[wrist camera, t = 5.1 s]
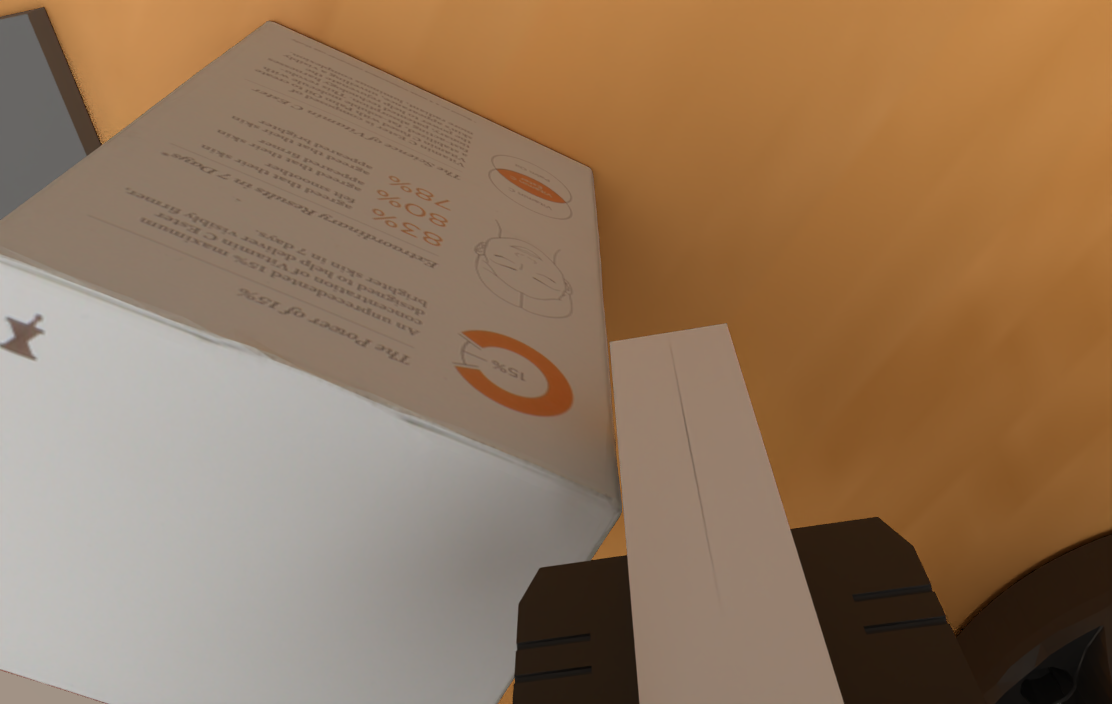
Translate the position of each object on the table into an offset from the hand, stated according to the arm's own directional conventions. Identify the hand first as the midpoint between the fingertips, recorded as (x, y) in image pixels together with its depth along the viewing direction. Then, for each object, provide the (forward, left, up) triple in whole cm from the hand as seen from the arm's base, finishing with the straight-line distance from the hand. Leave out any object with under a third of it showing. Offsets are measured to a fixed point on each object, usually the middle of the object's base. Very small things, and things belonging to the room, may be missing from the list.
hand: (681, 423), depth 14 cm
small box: (0, +6, -12) cm, 13 cm away
